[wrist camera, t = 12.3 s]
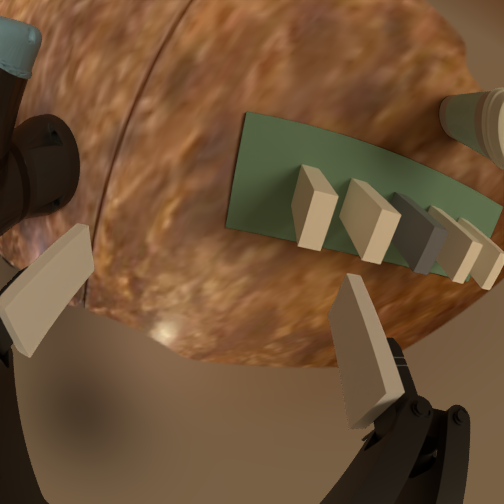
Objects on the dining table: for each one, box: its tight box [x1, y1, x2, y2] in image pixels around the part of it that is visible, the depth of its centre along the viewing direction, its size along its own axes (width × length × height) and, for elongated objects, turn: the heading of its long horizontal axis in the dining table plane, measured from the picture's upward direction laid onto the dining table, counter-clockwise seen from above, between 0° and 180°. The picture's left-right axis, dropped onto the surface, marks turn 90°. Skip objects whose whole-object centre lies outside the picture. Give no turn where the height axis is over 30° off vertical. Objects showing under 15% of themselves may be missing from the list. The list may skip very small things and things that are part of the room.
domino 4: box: [458, 217, 504, 290], centre depth 27 cm, size 2×5×10 cm, turn 169°
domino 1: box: [291, 164, 339, 251], centre depth 26 cm, size 2×5×10 cm, turn 169°
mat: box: [226, 112, 503, 282], centre depth 31 cm, size 40×14×1 cm, turn 79°
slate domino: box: [391, 192, 449, 275], centre depth 26 cm, size 2×5×10 cm, turn 169°
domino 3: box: [428, 205, 483, 283], centre depth 27 cm, size 2×5×10 cm, turn 169°
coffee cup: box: [439, 88, 504, 170], centre depth 19 cm, size 8×8×12 cm
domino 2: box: [339, 178, 401, 264], centre depth 26 cm, size 2×5×10 cm, turn 169°
